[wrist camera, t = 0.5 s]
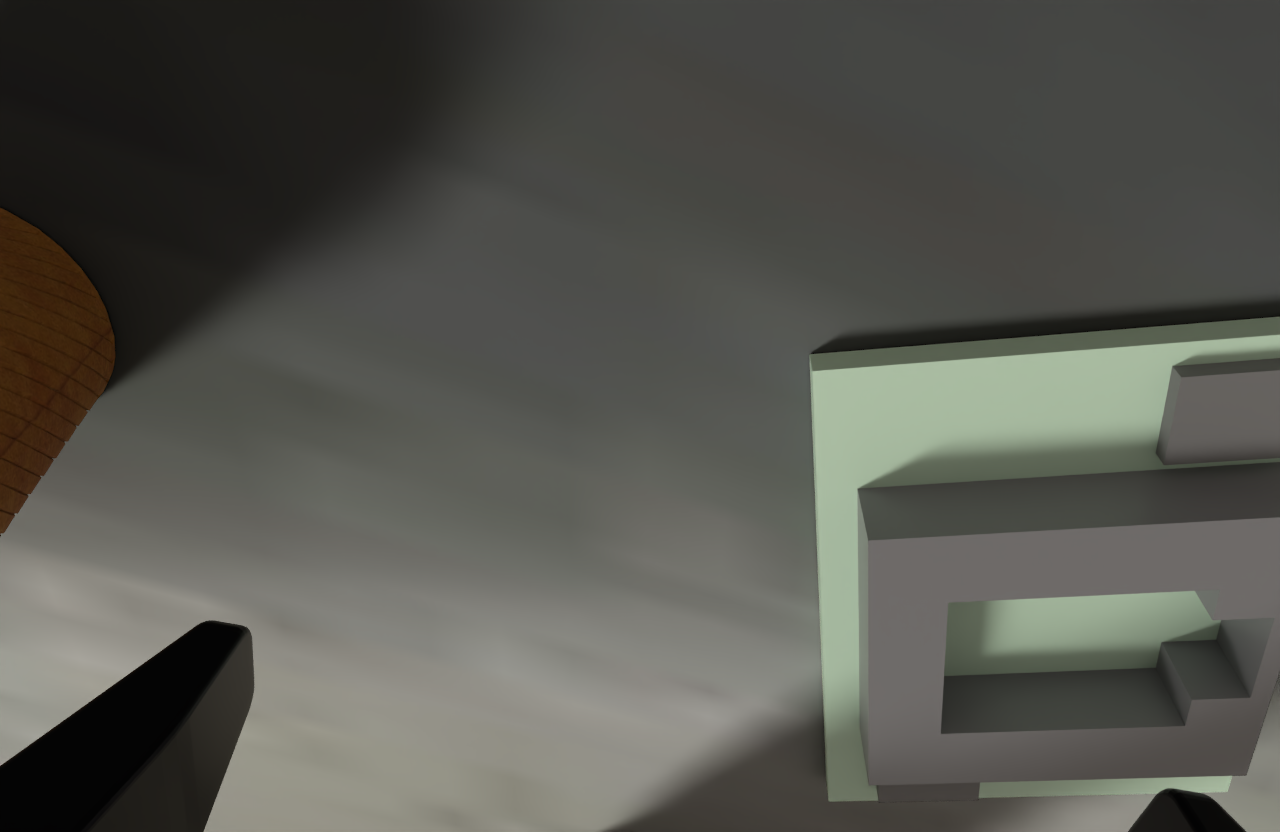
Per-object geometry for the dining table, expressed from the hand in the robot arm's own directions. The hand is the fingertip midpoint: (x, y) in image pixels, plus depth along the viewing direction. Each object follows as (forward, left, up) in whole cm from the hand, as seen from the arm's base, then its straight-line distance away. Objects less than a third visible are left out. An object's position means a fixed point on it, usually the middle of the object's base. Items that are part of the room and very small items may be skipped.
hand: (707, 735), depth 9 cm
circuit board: (-12, -8, -14) cm, 20 cm away
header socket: (-12, -8, -14) cm, 20 cm away
